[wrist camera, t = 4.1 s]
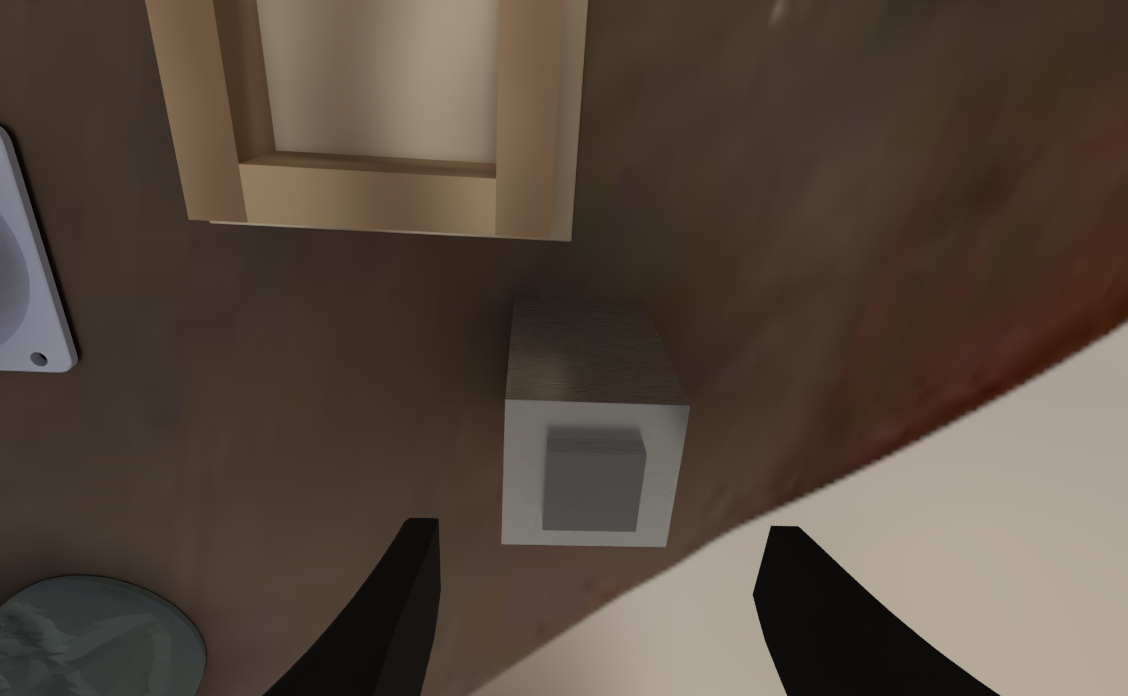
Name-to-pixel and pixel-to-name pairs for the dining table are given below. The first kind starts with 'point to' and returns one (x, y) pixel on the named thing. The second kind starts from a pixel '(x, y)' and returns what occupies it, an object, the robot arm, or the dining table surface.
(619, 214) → the dining table surface
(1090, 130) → the dining table surface
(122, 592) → the green plant pot
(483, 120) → the socket board
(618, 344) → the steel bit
